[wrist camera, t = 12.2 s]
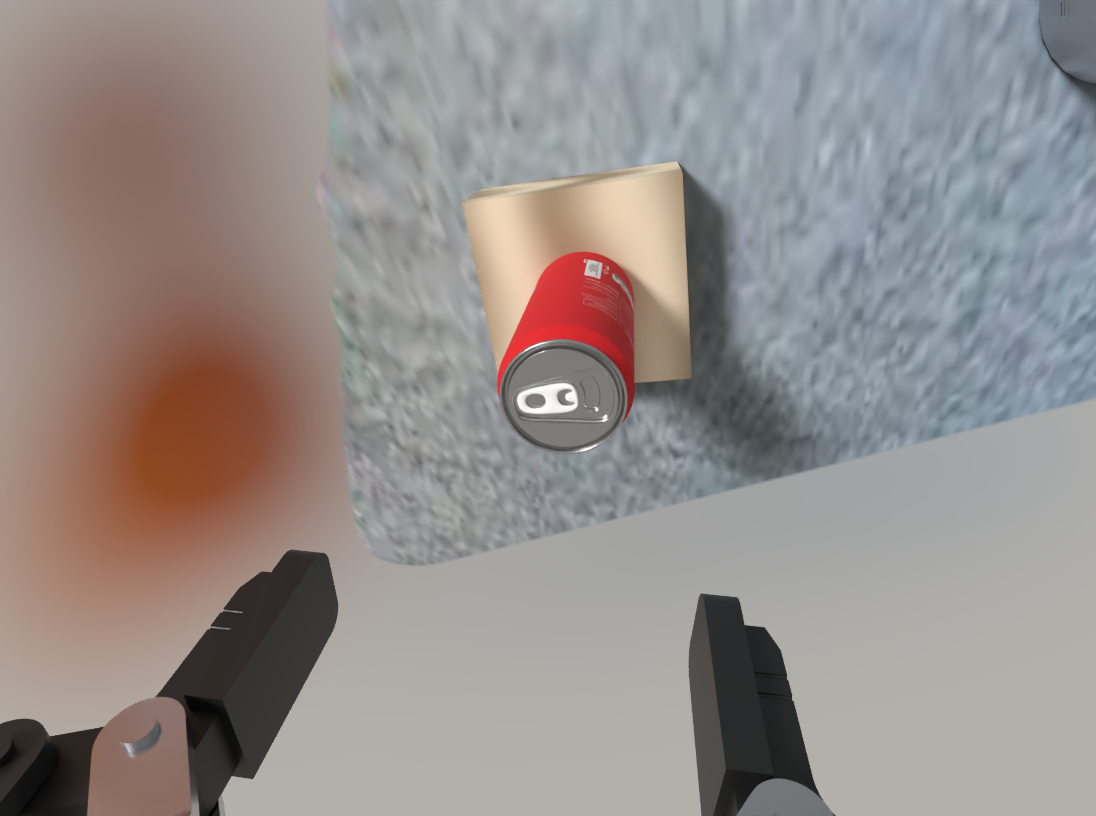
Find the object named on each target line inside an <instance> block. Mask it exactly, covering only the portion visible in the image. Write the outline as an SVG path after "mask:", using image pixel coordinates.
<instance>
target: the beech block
mask: <svg viewBox="0 0 1096 816" xmlns="http://www.w3.org/2000/svg"><path fill="white" fill-rule="evenodd" d="M462 204H463V209H464V214H465V219H466V223H467V228H468V233H469V238H470V242H471V247H472V252H473V257H474V261H475V266H476V271H477V276H478V280H479V285H480V290H481V295H482V299H483V304H484V309H485V314H486V319H487V323H488V328H489V333H490V338H491V342H492V347H493V352H494V357H495V361H496V366H497V371H499V367H500V364H501V362H502V359H503V357H504V355H505V352H506V350H507V348H508V346H509V344H510V341H511V339H512V337H513V335H514V333H515V330H516V328H517V326H518V324H519V322H520V319H521V317H522V315H523V313H524V310H525V308H526V306H527V304H528V302H529V299H530V297H531V295H532V293H533V291H534V288H535V286H536V284H537V282H538V280H539V278H540V276H541V274H542V273H543V271H544V270H545V269H546V268H547V267H548V266H549V265H550V264H551V263H552V262H553V261H555V260H556V259H558V258H560V257H562V256H564V255H567V254H570V253H574V252H593V253H597V254H601V255H603V256H605V257H608V258H609V259H611V260H612V261H614V262H615V263H617V264H618V265H619V266H620V267H621V268H622V269H623V271H624V272H625V273H626V275H627V276H628V278H629V280H630V282H631V285H632V288H633V293H634V383H642V382H655V381H667V380H679V379H691V378H692V370H691V348H690V326H689V304H688V282H687V259H686V237H685V215H684V193H683V172H682V170H681V168H680V166H679V164H678V162H677V161H676V162H669V163H662V164H655V165H648V166H641V167H634V168H627V169H620V170H613V171H607V172H600V173H593V174H586V175H579V176H572V177H565V178H558V179H551V180H544V181H537V182H530V183H523V184H516V185H509V186H503V187H496V188H489V189H482V190H479V191H477V192H476V193H475V194H473V195H472V196H471V197H470V198H468V199H467V200H466V201H465V202H463V203H462Z"/></svg>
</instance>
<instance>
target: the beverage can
mask: <svg viewBox="0 0 1096 816" xmlns="http://www.w3.org/2000/svg"><path fill="white" fill-rule="evenodd" d="M497 388H498V395H499V399H500V405H501V409H502V412H503V414H504V416H505V418H506V420H507V422H508V424H509V425H510V426H511V428H512V429H513V430H514V431H515V432H516V433H517V434H518V435H519V436H520V437H521V438H522V439H523V440H525V441H526V442H528V443H529V444H531V445H532V446H534V447H536V448H538V449H541V450H544V451H548V452H553V453H559V454H574V453H580V452H585V451H588V450H591V449H593V448H596V447H598V446H600V445H601V444H603V443H604V442H606V441H607V440H608V439H609V438H611V437H612V436H613V435H614V434H615V432H616V431H617V430H618V429H619V427H620V425H621V424H622V423H623V421H624V420H625V419H626V417H627V415H628V413H629V411H630V409H631V406H632V403H633V398H634V293H633V288H632V285H631V282H630V280H629V278H628V276H627V275H626V273H625V272H624V271H623V269H622V268H621V267H620V266H619V265H618V264H617V263H615V262H614V261H612V260H611V259H609V258H608V257H605V256H603V255H601V254H597V253H593V252H574V253H570V254H567V255H564V256H562V257H560V258H558V259H556V260H555V261H553V262H552V263H551V264H550V265H549V266H548V267H547V268H546V269H545V270H544V271H543V273H542V274H541V276H540V278H539V280H538V282H537V284H536V286H535V288H534V291H533V293H532V295H531V297H530V299H529V302H528V304H527V306H526V308H525V310H524V313H523V315H522V317H521V319H520V322H519V324H518V326H517V328H516V330H515V333H514V335H513V337H512V339H511V341H510V344H509V346H508V348H507V350H506V352H505V355H504V357H503V359H502V362H501V364H500V367H499V371H498V377H497Z"/></svg>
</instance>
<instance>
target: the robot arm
mask: <svg viewBox="0 0 1096 816" xmlns="http://www.w3.org/2000/svg"><path fill="white" fill-rule="evenodd" d="M1039 20H1040V26H1041V32H1042V38H1043V40H1044V42H1045V44H1046V46H1047V49H1048V51H1049V53H1050V55H1051V57H1052V58H1053V59H1054V60H1055V61H1056V62H1057V63H1058V64H1059V66H1060V67H1061V68H1062V69H1063V70H1064V71H1066V72H1067V73H1069V74H1071V75H1072V76H1074V77H1076V78H1077V79H1079V80H1081V81H1085V82H1089V83H1092V84H1096V0H1040V4H1039ZM337 614H338V601H337V596H336V591H335V586H334V582H333V577H332V572H331V567H330V563H329V559H328V556H327V555H326V554H325V553H317V552H308V551H298V550H289V551H287V552H286V553H285V554H284V556H283V557H282V558H281V560H280V561H279V562H278V564H277V565H276V567H275V568H274V569H273V571H272V572H271V573H270V572H260V573H259V574H258V575H256V576H255V577H254V578H252V579H251V580H250V581H248V582H247V583H245V584H244V585H243V586H241V587H240V588H239V589H238V591H237V592H236V593H235V594H234V596H233V597H232V598H231V600H230V601H229V602H228V603H227V605H226V606H225V607H224V611H223V613H220V614H219V615H218V617H217V618H216V619H215V621H214V622H213V623H212V624H211V628H210V630H209V629H208V630H207V631H206V632H205V634H204V635H203V636H202V638H201V639H200V640H199V641H198V643H197V644H196V645H195V647H194V648H193V650H192V651H191V652H190V653H189V655H188V656H187V657H186V659H185V660H184V661H183V662H182V664H181V665H180V666H179V668H178V669H177V670H176V672H175V673H174V674H173V676H172V677H171V678H170V679H169V681H168V682H167V683H166V685H165V686H164V687H163V689H162V690H161V691H160V692H159V693H158V695H157V696H156V697H154V698H149V699H146V700H143V701H140V702H137V703H135V704H133V705H131V706H129V707H127V708H126V709H124V710H123V711H121V712H120V713H118V714H117V715H116V716H115V717H114V718H112V719H111V720H110V721H109V722H108V723H107V724H106V725H105V726H104V727H100V728H95V729H90V730H84V731H78V732H73V733H67V734H61V735H56V736H49V735H48V733H47V731H46V730H45V728H44V727H43V725H42V724H40V723H39V722H38V721H35V720H31V719H17V720H12V721H8V722H4V723H2V724H0V816H225V811H224V802H223V797H222V795H221V794H222V792H223V790H224V788H225V787H226V785H227V783H228V781H229V780H230V778H231V776H235V777H242V778H249V779H253V778H254V776H255V774H256V773H257V771H258V769H259V767H260V765H261V763H262V761H263V760H264V758H265V756H266V754H267V752H268V750H269V748H270V747H271V745H272V743H273V741H274V739H275V737H276V735H277V734H278V731H279V730H280V728H281V726H282V724H283V722H284V721H285V719H286V717H287V715H288V713H289V711H290V709H291V708H292V706H293V704H294V702H295V700H296V698H297V696H298V695H299V693H300V691H301V689H302V687H303V685H304V683H305V681H306V680H307V678H308V676H309V674H310V672H311V670H312V669H313V667H314V665H315V663H316V661H317V659H318V657H319V655H320V654H321V652H322V650H323V648H324V646H325V644H326V643H327V641H328V639H329V637H330V635H331V633H332V631H333V629H334V626H335V623H336V619H337ZM689 679H690V691H691V702H692V713H693V725H694V735H695V747H696V757H697V769H698V780H699V791H700V803H701V814H702V816H835V815H834V814H833V813H832V812H831V810H830V809H829V808H828V806H827V805H826V804H825V802H824V801H823V799H822V798H821V796H820V795H819V792H818V790H817V788H816V786H815V783H814V780H813V777H812V773H811V769H810V765H809V761H808V757H807V753H806V749H805V745H804V741H803V737H802V733H801V729H800V725H799V721H798V717H797V713H796V709H795V705H794V702H793V701H792V693H791V690H790V685H789V681H788V680H787V673H786V669H785V665H784V661H783V657H782V653H781V650H780V649H779V647H778V646H777V644H776V643H775V642H774V640H773V639H772V637H771V636H770V634H769V633H768V632H767V630H766V629H765V628H764V627H756V626H747V625H744V620H743V615H742V610H741V606H740V602H739V599H738V598H737V597H728V596H719V595H709V594H700V596H699V600H698V605H697V611H696V615H695V621H694V626H693V631H692V636H691V641H690V649H689Z"/></svg>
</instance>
